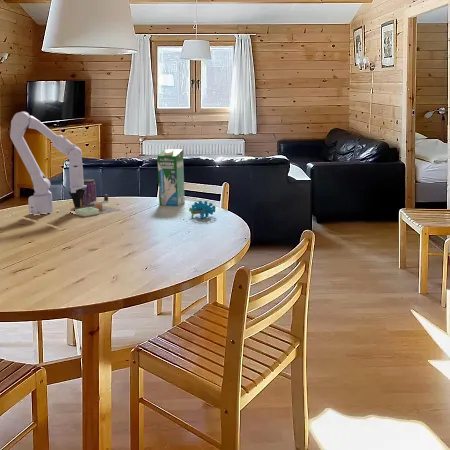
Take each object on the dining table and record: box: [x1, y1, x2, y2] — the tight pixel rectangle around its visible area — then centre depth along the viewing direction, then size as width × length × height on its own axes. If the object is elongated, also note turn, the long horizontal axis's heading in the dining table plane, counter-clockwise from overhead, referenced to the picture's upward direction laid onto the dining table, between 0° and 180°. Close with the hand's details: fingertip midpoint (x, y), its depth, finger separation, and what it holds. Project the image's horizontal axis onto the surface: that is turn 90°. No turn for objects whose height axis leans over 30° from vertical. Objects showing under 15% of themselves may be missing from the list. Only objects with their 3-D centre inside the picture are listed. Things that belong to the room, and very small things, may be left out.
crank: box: [87, 193, 109, 206], centre depth 267 cm, size 10×3×4 cm, turn 135°
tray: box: [74, 207, 99, 218], centre depth 257 cm, size 7×7×2 cm
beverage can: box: [81, 178, 97, 207], centre depth 280 cm, size 7×7×12 cm
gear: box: [188, 200, 216, 220], centre depth 250 cm, size 11×6×10 cm
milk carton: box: [157, 148, 186, 207], centre depth 279 cm, size 9×9×25 cm
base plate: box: [85, 200, 123, 218], centre depth 265 cm, size 19×17×4 cm
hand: (78, 206), depth 265 cm, fingers closed on brass pin, 3 cm apart
